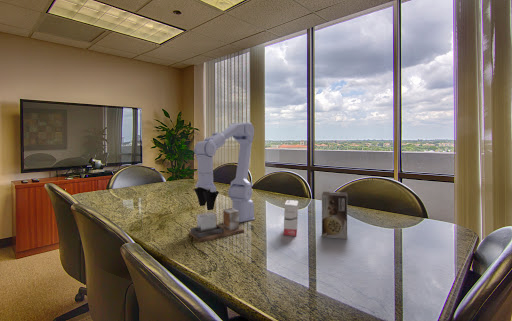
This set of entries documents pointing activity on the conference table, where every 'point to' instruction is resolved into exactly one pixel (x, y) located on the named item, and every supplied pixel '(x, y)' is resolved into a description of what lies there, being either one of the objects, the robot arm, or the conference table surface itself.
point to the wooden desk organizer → (221, 227)
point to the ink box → (291, 217)
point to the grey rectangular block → (206, 222)
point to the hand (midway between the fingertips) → (206, 207)
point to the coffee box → (334, 215)
